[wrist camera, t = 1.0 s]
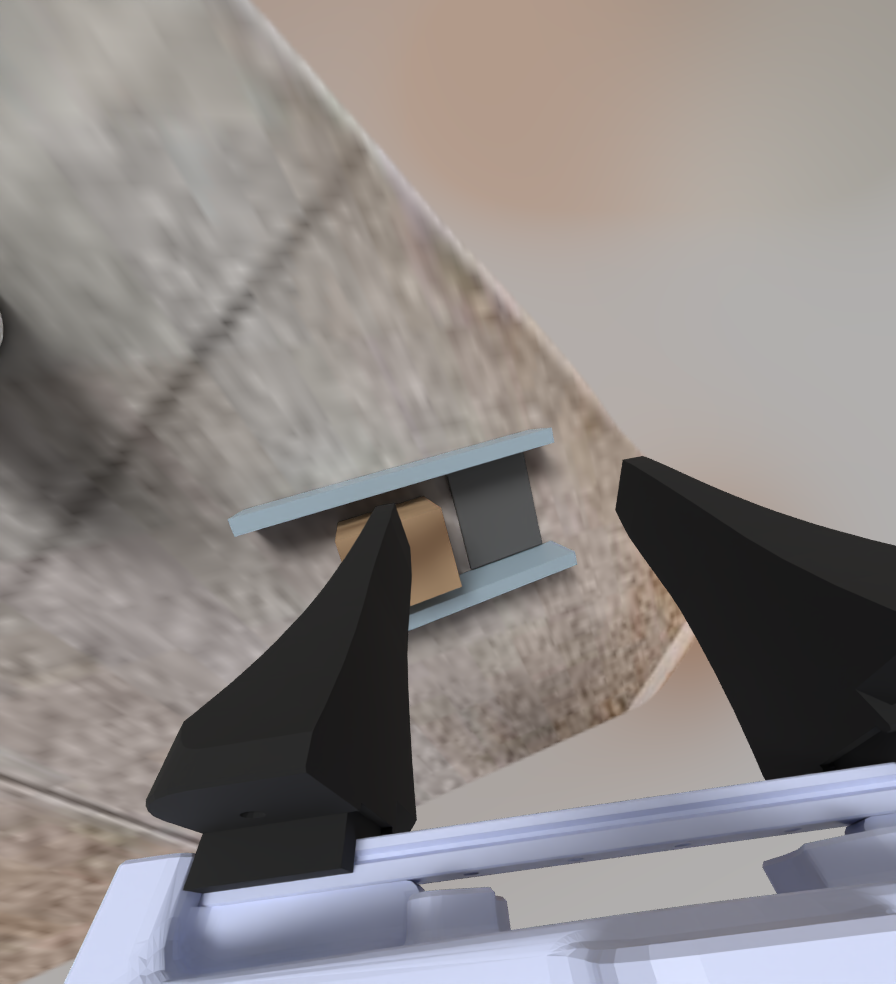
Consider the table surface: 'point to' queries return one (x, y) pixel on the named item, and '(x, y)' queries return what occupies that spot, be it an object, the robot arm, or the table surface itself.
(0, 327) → the can
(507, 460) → the dark grey slab
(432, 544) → the block
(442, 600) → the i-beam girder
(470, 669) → the table surface
